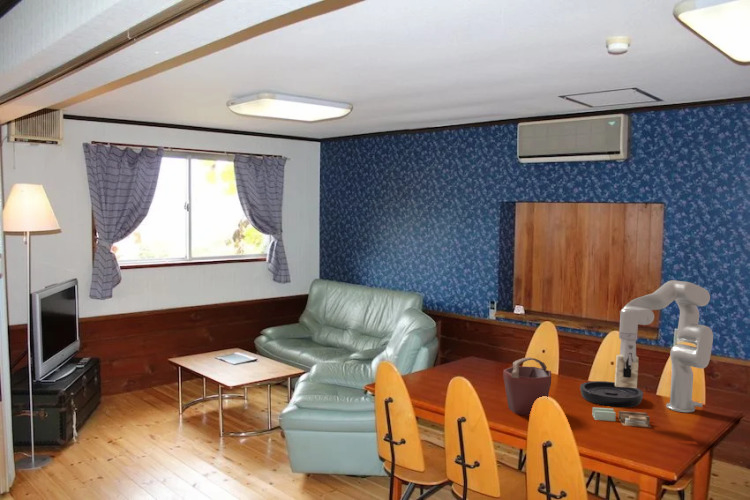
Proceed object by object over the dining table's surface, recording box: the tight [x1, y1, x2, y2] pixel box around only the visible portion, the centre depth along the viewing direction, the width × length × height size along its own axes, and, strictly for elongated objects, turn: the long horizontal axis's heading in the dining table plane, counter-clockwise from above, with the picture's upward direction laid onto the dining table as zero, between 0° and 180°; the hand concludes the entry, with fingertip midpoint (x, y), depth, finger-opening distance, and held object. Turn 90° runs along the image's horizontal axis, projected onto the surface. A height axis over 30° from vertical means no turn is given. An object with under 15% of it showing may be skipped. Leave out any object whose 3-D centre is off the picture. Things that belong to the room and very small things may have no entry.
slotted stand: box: [591, 406, 617, 422], centre depth 288 cm, size 9×8×4 cm
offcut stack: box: [625, 416, 649, 428], centre depth 279 cm, size 9×3×3 cm, turn 80°
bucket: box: [502, 357, 552, 417], centre depth 299 cm, size 24×22×25 cm
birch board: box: [614, 354, 640, 388], centre depth 283 cm, size 9×2×14 cm, turn 82°
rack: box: [617, 410, 652, 428], centre depth 282 cm, size 12×10×4 cm
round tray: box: [579, 380, 644, 408], centre depth 320 cm, size 30×6×30 cm
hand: (626, 375), depth 284 cm, fingers closed on birch board, 2 cm apart
